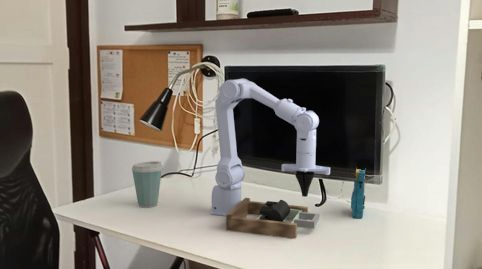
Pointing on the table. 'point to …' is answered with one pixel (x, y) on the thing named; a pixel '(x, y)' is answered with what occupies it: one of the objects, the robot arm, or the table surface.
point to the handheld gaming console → (358, 195)
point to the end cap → (275, 211)
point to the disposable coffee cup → (147, 182)
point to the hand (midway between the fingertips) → (304, 195)
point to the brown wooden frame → (259, 220)
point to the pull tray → (299, 215)
